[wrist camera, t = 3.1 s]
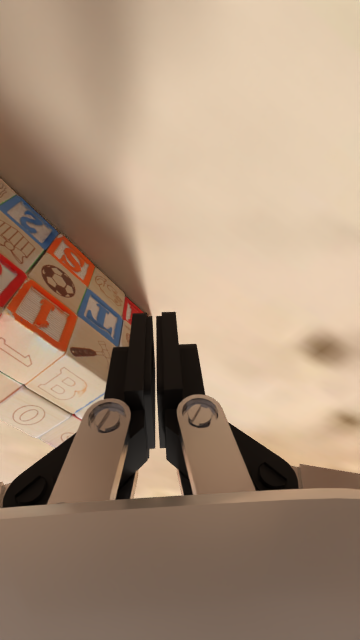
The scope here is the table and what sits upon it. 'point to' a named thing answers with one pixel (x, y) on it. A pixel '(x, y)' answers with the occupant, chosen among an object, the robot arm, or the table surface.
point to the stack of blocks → (52, 325)
